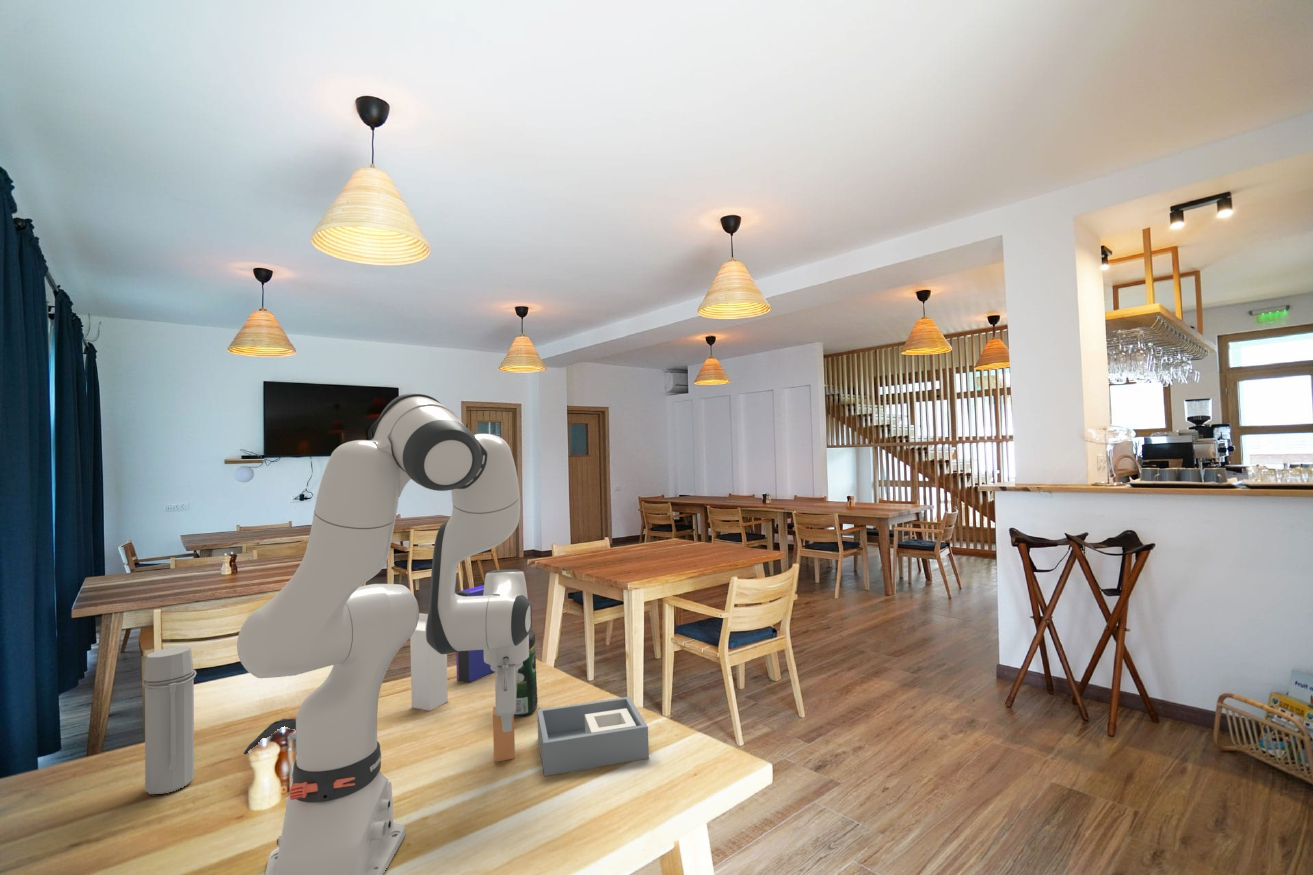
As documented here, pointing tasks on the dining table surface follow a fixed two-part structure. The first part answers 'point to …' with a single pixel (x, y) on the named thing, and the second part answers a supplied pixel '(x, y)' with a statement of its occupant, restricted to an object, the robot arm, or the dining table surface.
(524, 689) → the coffee jar
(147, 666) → the water bottle
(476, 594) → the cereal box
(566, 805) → the dining table surface
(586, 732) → the socket
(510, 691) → the robot arm
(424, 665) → the milk
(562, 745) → the bin
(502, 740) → the plug
